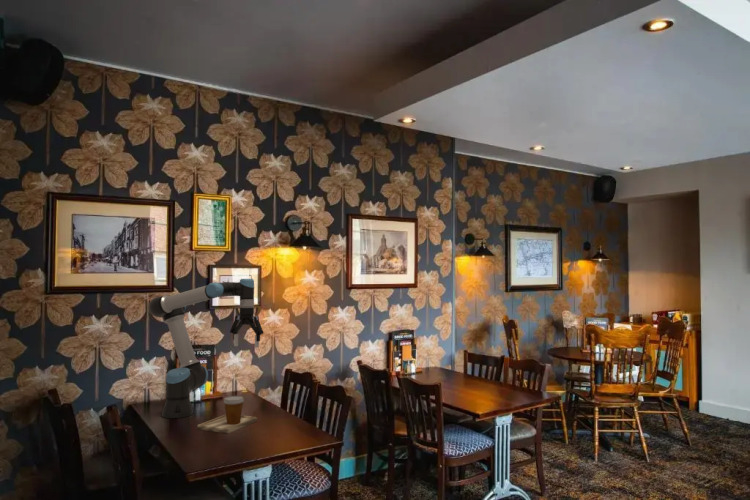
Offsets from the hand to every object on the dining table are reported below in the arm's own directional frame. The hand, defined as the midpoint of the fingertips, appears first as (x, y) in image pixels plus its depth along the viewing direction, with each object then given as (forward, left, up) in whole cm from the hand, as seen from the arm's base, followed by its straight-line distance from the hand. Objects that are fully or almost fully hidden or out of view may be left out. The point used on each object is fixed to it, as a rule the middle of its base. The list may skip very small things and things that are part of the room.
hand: (246, 346), depth 276 cm
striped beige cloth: (+7, -23, -35) cm, 42 cm away
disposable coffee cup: (+10, -22, -34) cm, 42 cm away
